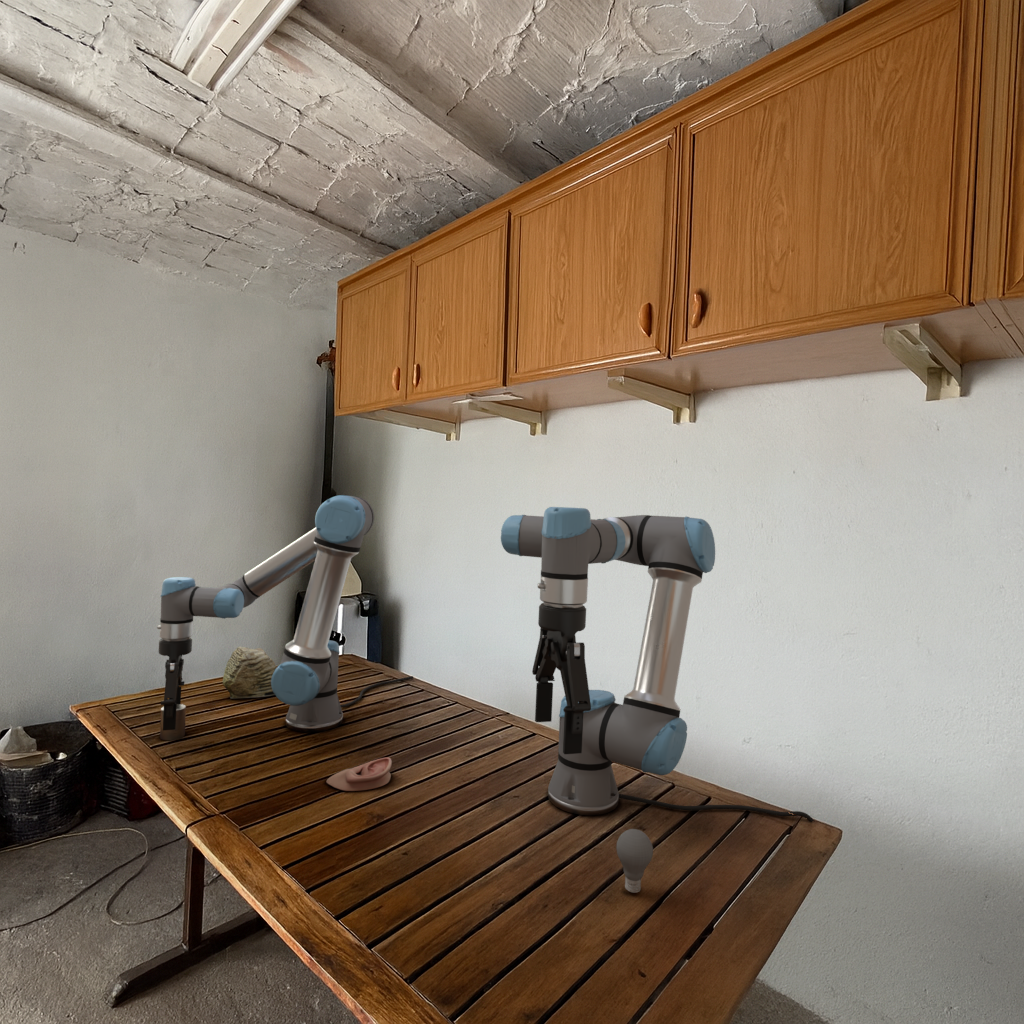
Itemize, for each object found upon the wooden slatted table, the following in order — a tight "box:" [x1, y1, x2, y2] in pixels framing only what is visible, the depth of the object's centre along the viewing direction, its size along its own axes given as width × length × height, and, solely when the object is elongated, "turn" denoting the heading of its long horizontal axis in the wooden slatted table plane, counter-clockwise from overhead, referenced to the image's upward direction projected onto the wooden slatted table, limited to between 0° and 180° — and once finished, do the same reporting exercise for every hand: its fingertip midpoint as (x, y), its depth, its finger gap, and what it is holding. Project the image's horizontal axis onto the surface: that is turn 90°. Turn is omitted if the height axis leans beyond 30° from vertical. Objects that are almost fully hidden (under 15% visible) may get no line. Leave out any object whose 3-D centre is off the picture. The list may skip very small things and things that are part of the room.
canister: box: [159, 703, 187, 741], centre depth 163 cm, size 6×6×7 cm
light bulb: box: [615, 828, 654, 894], centre depth 106 cm, size 6×6×10 cm
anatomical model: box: [326, 756, 393, 792], centre depth 142 cm, size 13×4×12 cm
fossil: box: [222, 646, 277, 699], centre depth 198 cm, size 9×18×15 cm, turn 132°
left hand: (171, 720), depth 163 cm, fingers open, 13 cm apart
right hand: (556, 736), depth 101 cm, fingers open, 13 cm apart
